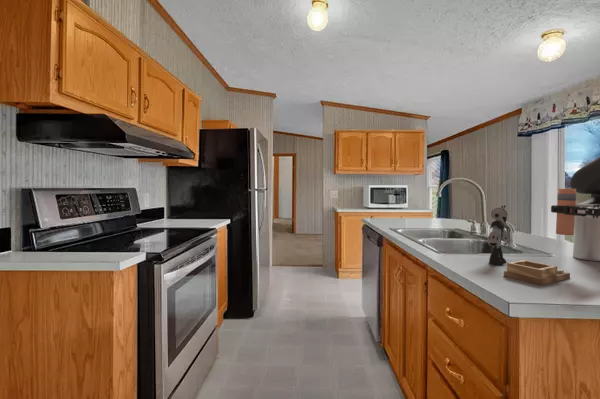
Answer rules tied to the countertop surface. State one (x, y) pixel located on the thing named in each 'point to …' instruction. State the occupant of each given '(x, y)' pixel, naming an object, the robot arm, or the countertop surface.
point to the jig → (535, 272)
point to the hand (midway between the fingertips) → (556, 208)
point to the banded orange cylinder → (565, 221)
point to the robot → (498, 236)
